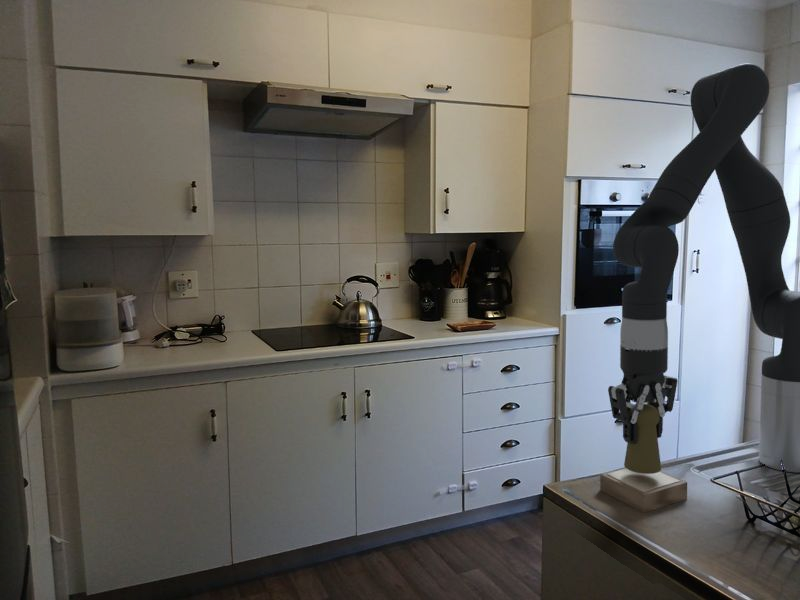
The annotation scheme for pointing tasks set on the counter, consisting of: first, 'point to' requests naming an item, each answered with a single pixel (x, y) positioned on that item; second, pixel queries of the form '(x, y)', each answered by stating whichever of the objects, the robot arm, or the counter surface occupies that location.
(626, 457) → the cork
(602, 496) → the counter surface
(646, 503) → the base block
